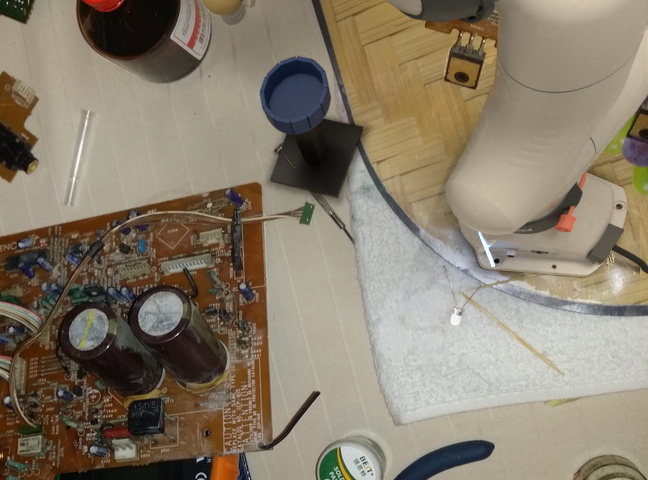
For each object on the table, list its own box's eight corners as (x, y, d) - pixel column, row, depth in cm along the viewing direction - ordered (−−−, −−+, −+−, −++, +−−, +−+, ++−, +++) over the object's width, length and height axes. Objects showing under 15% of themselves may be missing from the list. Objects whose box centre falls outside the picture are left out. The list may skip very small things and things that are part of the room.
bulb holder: (340, 77, 97) (337, 62, 93) (317, 140, 98) (313, 128, 94) (279, 66, 100) (273, 51, 96) (257, 127, 101) (250, 115, 97)
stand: (363, 129, 117) (354, 69, 96) (337, 198, 118) (323, 153, 98) (295, 114, 121) (272, 54, 101) (271, 181, 122) (244, 135, 102)
